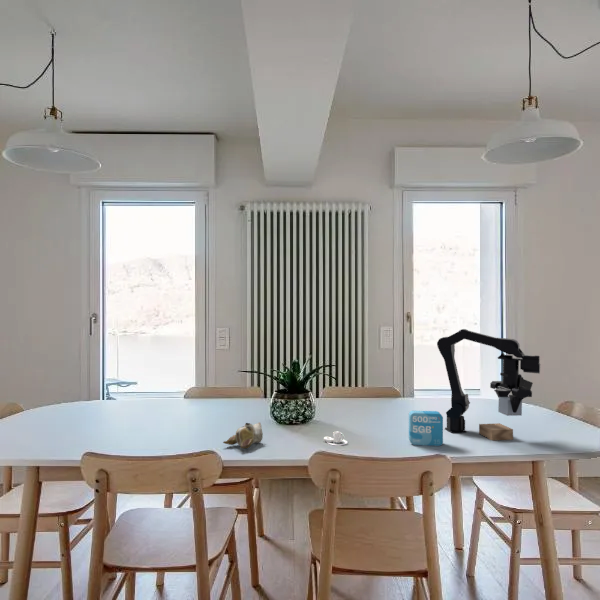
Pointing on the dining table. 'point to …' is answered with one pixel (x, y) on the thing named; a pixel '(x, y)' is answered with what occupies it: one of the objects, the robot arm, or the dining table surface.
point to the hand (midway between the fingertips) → (509, 410)
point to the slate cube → (508, 407)
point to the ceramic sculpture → (246, 435)
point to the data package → (425, 428)
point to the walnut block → (496, 431)
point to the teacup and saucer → (335, 438)
